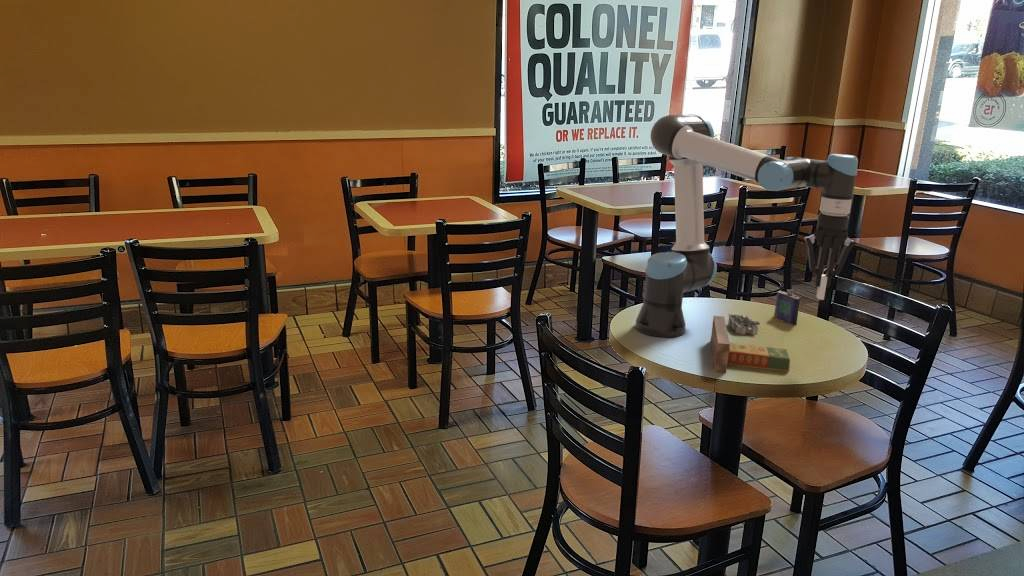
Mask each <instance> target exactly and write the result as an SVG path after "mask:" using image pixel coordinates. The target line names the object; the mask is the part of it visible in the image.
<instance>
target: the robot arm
mask: <svg viewBox="0 0 1024 576" xmlns="http://www.w3.org/2000/svg"><path fill="white" fill-rule="evenodd" d="M650 142H651V145H652V147H653V149H655V150H656V151H657V152H658V153H660V154H662V155H664V156H668V162H669V163H670V164H671V165H672V166H673V177H674V210H675V214H674V215H675V236H676V237H675V243H674V245H673V246H671V251H666V252H663V251H662V252H657V253H654V254H652V255H650V256H649V257H648V259H647V262H646V267H645V279H644V291H643V302H642V303H643V304H642V305H641V307H640V310H639V312H638V315H637V317H636V319H635V325H634V326H635V329H636V330H637V331H638V332H640V333H642V334H646V335H648V336H654V337H659V338H675V337H680V336H682V335H684V334H685V333H686V319H685V317H684V312H683V301H684V300H683V299H684V298H683V297H684V293H688V292H692V291H695V290H701V289H703V288H704V287H707V286H708V285H710V284H711V283H712V282H713V281H714V279H715V277H716V276H717V269H718V266H717V261H716V258H715V257H714V256H713V254H712V253H710V252H711V251H710V245H708V244H707V243H706V242H705V219H704V218H705V217H704V215H705V213H704V212H705V211H704V178H703V177H704V173H703V171H704V170H703V169H704V168H703V165H705V166H708V167H711V168H714V169H716V170H717V169H718V170H720V171H723V172H725V173H728V174H732V175H734V176H738V177H740V178H742V179H746V180H749V181H752V182H755V183H758V184H759V185H760V186H761V187H762V188H763V189H764V190H767V191H771V192H772V191H773V192H779V191H780V192H781V191H783V190H789V189H795V188H800V187H801V188H802V187H804V188H810V189H811V188H814V189H818V190H820V189H821V198H820V204H819V209H818V210H819V211H820V212H819V213H818V217H817V221H816V222H817V224H816V228H815V230H814V231H813V234H811V235H809V236H807V235H806V236H804V239H803V240H804V241H805V243H806V246H807V247H806V248H807V255H808V267H809V271H810V272H811V273H813V274H815V279H814V286H815V287H817V289H816V290H817V291H816V296H815V297H816V298H817V300H821V301H824V300H825V295H826V289H827V288H830V287H831V283H832V278H833V277H834V276H839V275H840V274H841V271H842V269H843V268H844V265H845V263H846V260H847V258H848V256H849V254H850V251H851V250H852V249H853V248H854V247H855V246H856V244H857V243H856V242H855V241H854V240H853V239H850V237H848V236H849V234H848V226H849V219H850V217H849V215H850V213H851V207H852V202H853V201H852V200H853V194H854V191H855V185H856V180H857V175H858V165H859V159H858V157H857V156H856V155H851V154H845V153H844V154H842V153H830V154H829V155H828V156H827V159H826V160H820V159H813V158H805V157H801V156H787V157H785V158H784V159H780V158H777V157H773V156H770V155H768V154H765V153H762V152H758V151H756V150H752V149H749V148H746V147H742V146H739V145H736V144H734V143H729V142H726V141H724V140H721V139H719V138H715V131H714V128H713V125H712V124H711V123H710V121H709V120H708V119H707V118H706V117H704V116H701V115H698V114H697V115H696V114H690V113H689V114H669V115H666V116H662V117H661V118H659V119H658V120H657V121H656V122H655V123H654V124H653V126H652V128H651V129H650ZM815 240H816V241H817V244H818V245H819V252H818V257H817V264H816V259H815V249H814V243H815ZM842 244H844V247H843V248H842V250H841V253H840V255H839V257H838V259H837V261H836V256H837V252H838V248H839V247H840V246H842ZM828 249H829V251H828ZM827 251H828V253H829V254H828V258H827V264H826V271H825V274H823V273H824V266H825V260H826V254H827ZM835 262H836V263H835Z"/></svg>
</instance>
